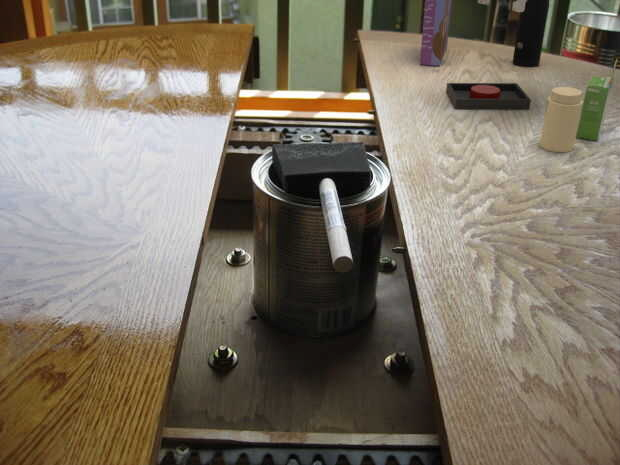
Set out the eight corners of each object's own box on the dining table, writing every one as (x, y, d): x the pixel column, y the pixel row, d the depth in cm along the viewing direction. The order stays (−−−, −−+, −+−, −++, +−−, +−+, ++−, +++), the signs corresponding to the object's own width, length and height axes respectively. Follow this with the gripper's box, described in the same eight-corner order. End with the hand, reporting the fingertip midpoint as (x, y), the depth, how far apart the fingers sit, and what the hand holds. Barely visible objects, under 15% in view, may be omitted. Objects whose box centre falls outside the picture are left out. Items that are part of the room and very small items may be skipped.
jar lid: (472, 101, 137) (473, 93, 136) (467, 92, 142) (468, 84, 141) (502, 102, 137) (503, 93, 136) (495, 93, 142) (497, 84, 141)
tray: (515, 92, 144) (517, 83, 143) (529, 109, 134) (531, 99, 133) (445, 92, 144) (446, 82, 143) (454, 109, 135) (455, 99, 134)
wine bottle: (540, 61, 166) (563, -69, 151) (537, 68, 161) (560, -67, 146) (514, 59, 168) (534, -70, 153) (510, 65, 163) (530, -68, 148)
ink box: (580, 125, 126) (595, 55, 119) (602, 129, 124) (618, 58, 118) (574, 137, 121) (590, 65, 114) (597, 141, 119) (614, 68, 112)
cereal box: (439, 66, 162) (449, -38, 150) (419, 65, 163) (428, -39, 151) (446, 49, 177) (456, -48, 165) (428, 48, 178) (437, -48, 166)
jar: (567, 140, 120) (578, 85, 115) (578, 152, 115) (590, 96, 110) (535, 140, 120) (544, 85, 115) (545, 152, 115) (555, 96, 110)
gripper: (459, -73, 129) (452, 0, 136) (539, -65, 113) (527, 18, 120) (484, -75, 132) (475, -2, 138) (565, -67, 116) (551, 14, 123)
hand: (500, 7), depth 129 cm, fingers open, 8 cm apart
